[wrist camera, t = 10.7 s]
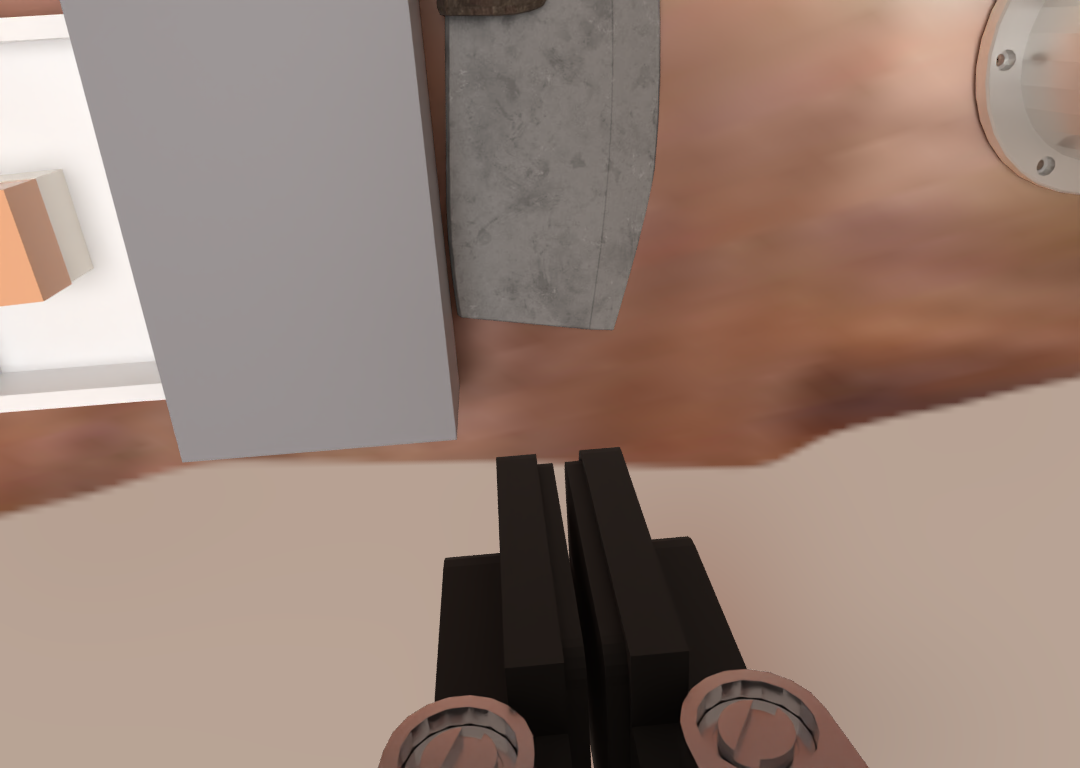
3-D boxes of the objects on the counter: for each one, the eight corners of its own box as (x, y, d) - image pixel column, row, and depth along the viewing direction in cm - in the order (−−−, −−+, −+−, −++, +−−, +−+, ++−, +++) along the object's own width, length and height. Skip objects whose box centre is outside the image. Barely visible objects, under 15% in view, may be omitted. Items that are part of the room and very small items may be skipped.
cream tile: (-78, 189, 33) (-43, 179, 36) (-37, 294, 35) (-6, 278, 37) (33, 178, 33) (62, 168, 36) (68, 283, 35) (93, 268, 38)
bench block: (412, -58, 34) (399, -75, 28) (459, 385, 42) (456, 439, 36) (117, -40, 33) (45, -54, 28) (222, 404, 41) (182, 462, 36)
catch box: (122, 14, 34) (85, 12, 31) (207, 368, 40) (183, 397, 37) (-130, 29, 34) (-194, 29, 30) (-4, 385, 40) (-46, 415, 37)
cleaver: (416, -442, 29) (412, -474, 27) (686, -433, 30) (700, -464, 28) (453, 331, 41) (452, 346, 39) (644, 326, 42) (652, 341, 40)
